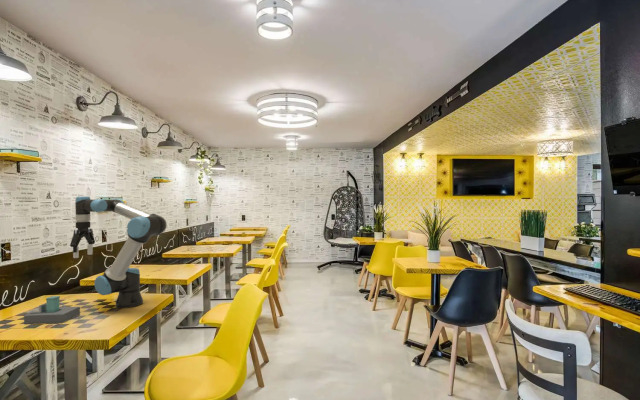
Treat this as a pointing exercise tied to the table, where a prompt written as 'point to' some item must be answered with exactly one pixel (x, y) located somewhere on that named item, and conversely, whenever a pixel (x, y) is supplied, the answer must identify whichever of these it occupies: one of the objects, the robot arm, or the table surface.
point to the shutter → (39, 309)
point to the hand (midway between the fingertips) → (83, 256)
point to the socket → (52, 316)
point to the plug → (52, 304)
